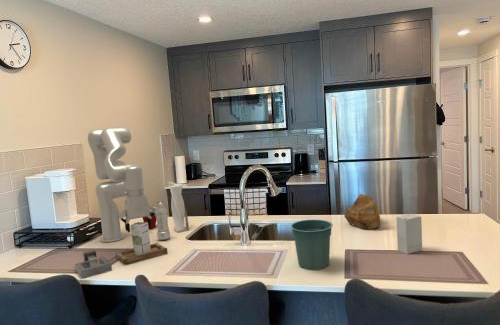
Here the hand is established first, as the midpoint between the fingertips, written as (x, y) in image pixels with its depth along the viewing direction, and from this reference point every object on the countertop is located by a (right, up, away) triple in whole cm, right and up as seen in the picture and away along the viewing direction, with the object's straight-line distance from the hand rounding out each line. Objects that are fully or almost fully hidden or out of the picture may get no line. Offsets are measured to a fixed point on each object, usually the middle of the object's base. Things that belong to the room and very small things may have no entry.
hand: (138, 229), depth 176 cm
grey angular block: (-19, -14, -5) cm, 25 cm away
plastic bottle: (+6, -10, +25) cm, 28 cm away
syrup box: (+2, -12, +1) cm, 12 cm away
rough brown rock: (+110, -3, +25) cm, 113 cm away
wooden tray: (+1, -13, +1) cm, 13 cm away
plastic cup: (-7, -8, +51) cm, 52 cm away
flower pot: (+77, -10, -24) cm, 81 cm away
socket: (-15, -15, -14) cm, 25 cm away
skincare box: (+118, -6, -17) cm, 119 cm away
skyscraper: (+12, -8, +41) cm, 43 cm away
